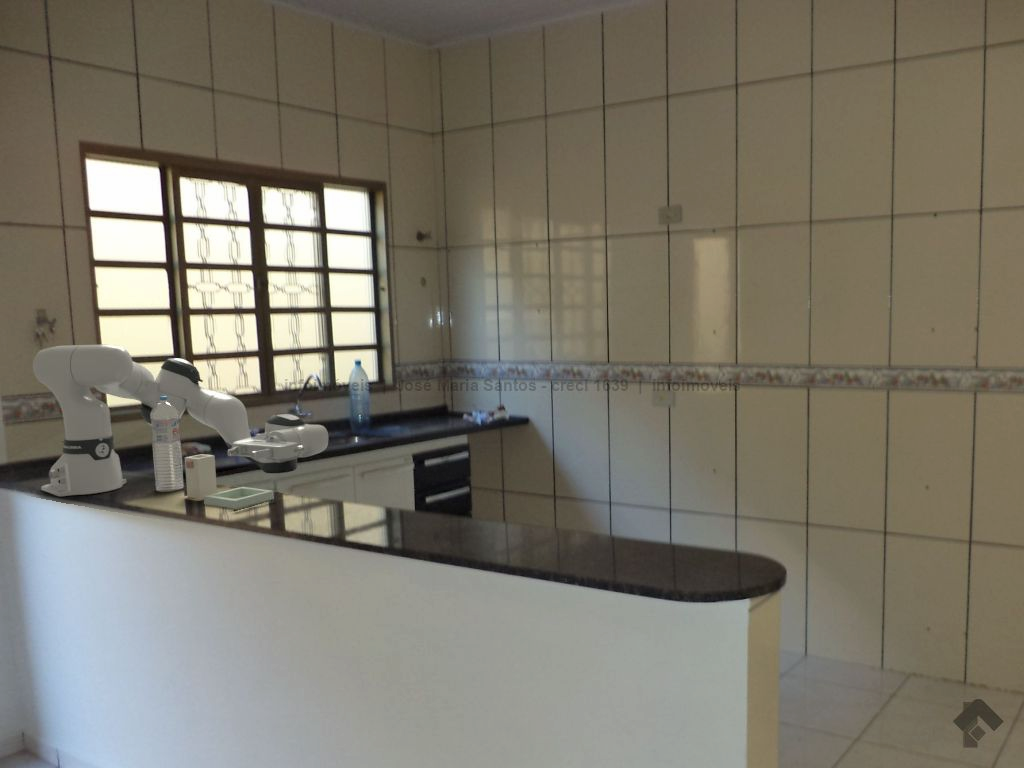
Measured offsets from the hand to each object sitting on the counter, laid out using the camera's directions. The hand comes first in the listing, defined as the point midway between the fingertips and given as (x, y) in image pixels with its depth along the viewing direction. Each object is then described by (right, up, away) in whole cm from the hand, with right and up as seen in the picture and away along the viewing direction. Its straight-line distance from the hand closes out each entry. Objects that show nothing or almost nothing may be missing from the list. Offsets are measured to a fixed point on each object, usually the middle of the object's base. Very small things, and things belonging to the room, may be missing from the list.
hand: (241, 454), depth 219 cm
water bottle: (-19, -10, +1) cm, 22 cm away
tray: (+5, -11, -17) cm, 21 cm away
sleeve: (-7, -10, -9) cm, 15 cm away
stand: (-7, -10, -9) cm, 15 cm away
